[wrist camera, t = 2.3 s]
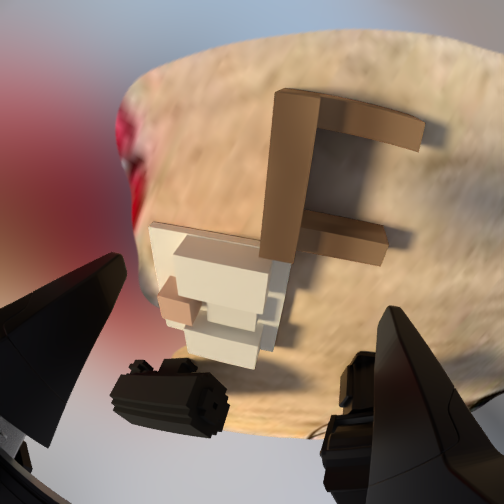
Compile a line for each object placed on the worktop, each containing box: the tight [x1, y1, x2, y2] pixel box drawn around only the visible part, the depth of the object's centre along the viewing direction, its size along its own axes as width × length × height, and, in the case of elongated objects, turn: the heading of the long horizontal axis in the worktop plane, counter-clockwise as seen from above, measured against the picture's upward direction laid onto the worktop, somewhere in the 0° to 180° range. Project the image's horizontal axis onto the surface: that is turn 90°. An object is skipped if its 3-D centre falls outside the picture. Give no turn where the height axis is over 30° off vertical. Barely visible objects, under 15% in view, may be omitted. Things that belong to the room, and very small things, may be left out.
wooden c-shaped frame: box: [148, 222, 291, 370], centre depth 25 cm, size 12×13×4 cm
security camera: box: [110, 358, 230, 438], centre depth 34 cm, size 7×18×10 cm, turn 118°
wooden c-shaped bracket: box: [259, 88, 425, 267], centre depth 16 cm, size 8×10×4 cm
